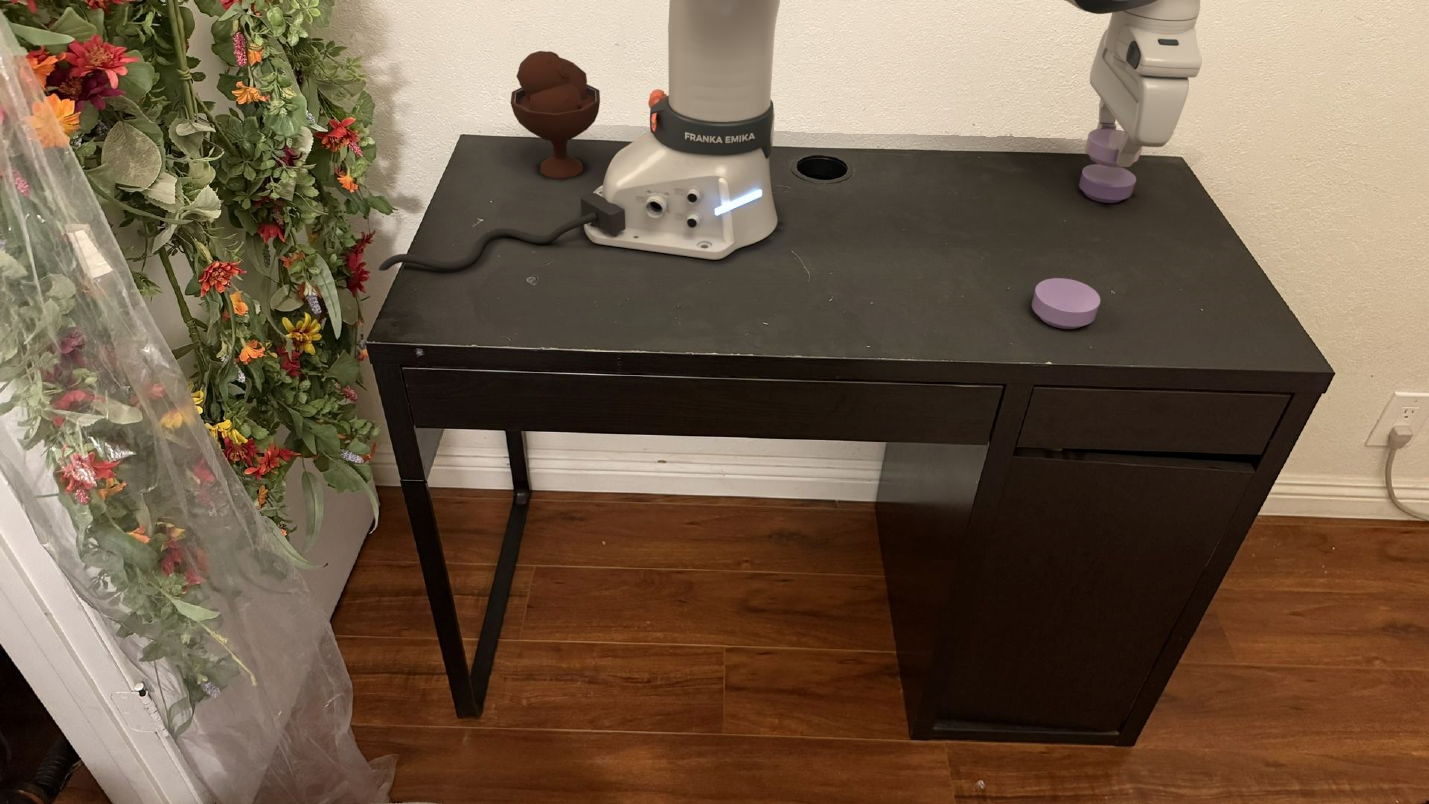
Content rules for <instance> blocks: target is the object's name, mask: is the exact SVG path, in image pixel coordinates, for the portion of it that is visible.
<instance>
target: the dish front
mask: <svg viewBox="0 0 1429 804" xmlns="http://www.w3.org/2000/svg"><path fill="white" fill-rule="evenodd" d="M1100 305H1101V297H1100V294H1099V293H1098V292H1097V291H1096V290H1095V289H1094V288H1093V287H1091V286H1090V285H1088V284H1086V283H1084V282H1081V281H1078V280H1074V279H1070V278H1064V277H1054V278H1052V277H1051V278H1047V279H1044V280H1042V281H1040V282H1039V283H1038V284H1036V286H1035V288H1034V292H1033V295H1032V300H1031V308H1032V310H1033V312H1034V313H1035V314H1036V315H1037V316H1038V317H1039V318H1040V319H1041V321H1042V322H1044V323H1045V324H1047V325H1049V326H1051V327H1054V328H1058V329H1062V330H1063V329H1064V330H1075V329H1079V328H1081V327H1084V326H1087V325H1089V324H1091V323H1092V322H1094V321H1095V320H1096V317H1097V315H1098V311H1099V308H1100Z"/></svg>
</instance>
